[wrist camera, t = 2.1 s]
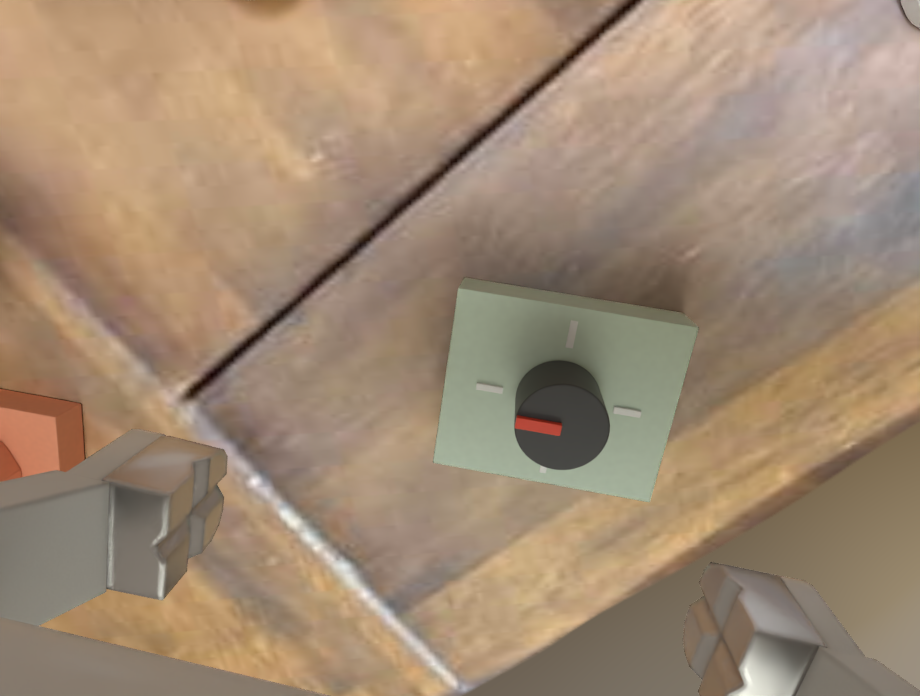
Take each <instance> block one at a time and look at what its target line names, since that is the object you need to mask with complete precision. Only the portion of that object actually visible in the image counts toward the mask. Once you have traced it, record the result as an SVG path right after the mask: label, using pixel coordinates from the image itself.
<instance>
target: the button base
mask: <svg viewBox="0 0 920 696" xmlns="http://www.w3.org/2000/svg"><path fill="white" fill-rule="evenodd" d="M84 460H85V455H84V439H83V424H82V409H81V404H80V403H75V402H70V401H64V400H59V399H53V398H48V397H43V396H37V395H32V394H26V393H21V392H15V391H10V390H4V389H0V482H2V481H7V480H11V479H16V478H21V477H25V476H30V475H35V474H40V473H44V472H49V471H54V470H58V471H63V472H67V471H68V470H70V469H71V468H73V467H74V466H76V465H78V464H79V463H81V462H82V461H84Z"/></svg>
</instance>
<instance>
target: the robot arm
mask: <svg viewBox="0 0 920 696" xmlns="http://www.w3.org/2000/svg"><path fill="white" fill-rule="evenodd" d="M900 1H901V4H902V7H903V9H904V12H905V14H906V16H907V18H908V19H909V21H910V22H911V23H912V24H913V25H915V26H916V27H918V28H920V0H900ZM226 473H227V454H226V453H225V451H224V449H220V448H216V447H212V446H208V445H204V444H200V443H196V442H192V441H188V440H184V439H180V438H176V437H172V436H166V435H164V434H161V433H156V432H151V431H146V430H141V429H131V430H130V431H128V432H127V433H125V434H124V435H122V436H120V437H119V438H117V439H116V440H114V441H113V442H111V443H110V444H108V445H107V446H105V447H104V448H102V449H101V450H99V451H97V452H96V453H94V454H93V455H91V456H90V457H88V458H87V459H85V460H84V461H82V462H81V463H79V464H78V465H76V466H74V467H73V468H71V469H70V470H68V471H67V472H63V471H58V470H54V471H49V472H44V473H40V474H35V475H30V476H25V477H21V478H16V479H11V480H7V481H2V482H0V696H330V695H325V694H321V693H317V692H313V691H309V690H304V689H300V688H296V687H292V686H288V685H284V684H279V683H275V682H271V681H267V680H263V679H258V678H254V677H250V676H246V675H242V674H237V673H233V672H229V671H225V670H221V669H216V668H212V667H208V666H204V665H200V664H195V663H191V662H187V661H183V660H179V659H175V658H170V657H166V656H162V655H158V654H154V653H149V652H145V651H141V650H137V649H133V648H128V647H124V646H120V645H116V644H112V643H107V642H103V641H99V640H95V639H91V638H86V637H82V636H78V635H74V634H70V633H66V632H61V631H57V630H53V629H49V628H45V627H40V626H39V625H41V624H43V623H45V622H47V621H49V620H51V619H53V618H55V617H57V616H59V615H61V614H63V613H65V612H67V611H69V610H71V609H73V608H75V607H77V606H79V605H81V604H83V603H85V602H87V601H89V600H91V599H93V598H95V597H97V596H99V595H101V594H103V593H105V592H106V589H109V590H114V591H119V592H124V593H129V594H134V595H139V596H143V597H148V598H153V599H158V600H163V599H164V598H165V597H166V596H167V594H168V593H169V592H170V591H171V590H172V588H173V587H174V586H175V585H176V584H177V582H178V581H179V580H180V579H181V578H182V576H183V575H184V574H185V573H186V572H187V564H188V558H191V557H193V556H196V555H198V554H201V553H202V552H203V551H204V550H205V549H206V547H207V546H208V545H209V543H210V542H211V541H212V539H213V536H214V534H215V532H216V530H217V528H218V526H219V523H220V519H221V516H222V512H223V504H224V496H223V494H222V493H221V491H220V489H219V487H218V486H217V484H218V482H219V481H220V480H221V479H222V478H223V477H224V476H225V475H226ZM699 584H700V586H701V589H702V592H703V594H704V596H703V597H701V598H700V599H698V600H697V601H695V602H694V603H692V604H691V605H690V607H689V610H688V613H687V616H686V619H685V622H684V632H683V644H684V652H685V656H686V658H687V661H688V664H689V667H690V668H691V669H692V670H693V671H694V672H695V673H696V674H697V675H698V676H699V677H700V678H701V679H702V683H701V685H700V688H699V690H698V692H699V695H700V696H920V690H918V689H917V688H915V687H914V686H912V685H911V684H910V683H908V682H907V681H906V680H904V679H903V678H901V677H900V676H899V675H897V674H896V673H894V672H893V671H892V670H890V669H889V668H887V667H886V666H885V665H883V664H882V663H880V662H879V661H877V660H875V659H872V658H867V657H865V655H864V654H863V653H862V651H861V650H860V649H859V647H858V646H857V644H856V643H855V642H854V641H853V639H852V638H851V636H850V635H849V634H848V632H847V631H846V630H845V628H844V627H843V626H842V624H841V623H840V622H839V620H838V619H837V618H836V616H835V615H834V614H833V612H832V611H831V610H830V608H829V607H828V606H827V604H826V603H825V601H824V600H823V599H822V598H821V596H820V595H819V593H818V592H817V591H816V589H815V588H814V587H813V585H811V584H809V583H808V582H806V581H804V580H800V579H795V578H789V577H784V576H779V575H774V574H769V573H763V572H758V571H754V570H749V569H744V568H739V567H734V566H729V565H724V564H719V563H712V562H710V563H709V565H708V566H707V567H706V568H705V569H704V572H703V574H702V577H701V579H700V581H699Z"/></svg>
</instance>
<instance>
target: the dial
mask: <svg viewBox="0 0 920 696" xmlns="http://www.w3.org/2000/svg"><path fill="white" fill-rule="evenodd" d="M514 431H515V437H516V440H517V442H518V444H519V447H520V448H521V450H522V451H523V452H524V453H525V455H526V456H527V457H529V458H530V459H531V460H532V461H534V462H535V463H537V464H539V465H541V466H543V467H546V468H550V469H555V470H570V469H575V468H578V467H581V466H583V465H585V464H587V463H589V462H591V461H592V460H593V459H595V458H596V457H597V456H598V455H599V454H600V452H601V451H602V450H603V448H604V447H605V445H606V443H607V440H608V437H609V433H610V420H609V416H608V412H607V409H606V406H605V404H604V401H603V398H602V395H601V392H600V389H599V386H598V384H597V382H596V380H595V378H594V377H593V376H592V375H591V374H590V373H589V372H588V371H587V370H586V369H585V368H583V367H582V366H580V365H578V364H575V363H573V362H569V361H562V360H554V361H548V362H544V363H542V364H539V365H537V366H536V367H534V368H532V369H531V370H530V371H529V372H528V373H526V374H525V376H524V377H523V378H522V380H521V381H520V383H519V385H518V388H517V391H516V397H515V419H514Z"/></svg>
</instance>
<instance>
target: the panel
mask: <svg viewBox="0 0 920 696" xmlns="http://www.w3.org/2000/svg"><path fill="white" fill-rule="evenodd" d="M698 329H699V327H698V326H697V325H696V324H695V323H694V322H692V321H691V320H690V319H689V318H688V317H687V316H686V315H685V314H684V313H681V312H675V311H669V310H662V309H656V308H650V307H644V306H638V305H632V304H626V303H619V302H613V301H607V300H601V299H595V298H589V297H583V296H577V295H570V294H564V293H558V292H552V291H546V290H540V289H534V288H528V287H521V286H515V285H509V284H503V283H497V282H491V281H485V280H479V279H472V278H466V277H464V279H463V281H462V282H461V284H460V286H459V288H458V293H457V300H456V306H455V313H454V320H453V327H452V334H451V341H450V348H449V355H448V362H447V369H446V375H445V382H444V389H443V396H442V403H441V410H440V417H439V424H438V431H437V438H436V444H435V451H434V458H433V463H437V464H443V465H448V466H454V467H459V468H465V469H470V470H476V471H481V472H486V473H492V474H497V475H503V476H508V477H514V478H519V479H525V480H530V481H536V482H541V483H547V484H552V485H558V486H563V487H569V488H574V489H579V490H585V491H590V492H596V493H601V494H607V495H612V496H618V497H623V498H629V499H634V500H640V501H645V502H650V499H651V496H652V492H653V489H654V485H655V482H656V478H657V475H658V471H659V467H660V464H661V460H662V457H663V453H664V450H665V446H666V443H667V439H668V436H669V432H670V429H671V425H672V421H673V418H674V414H675V411H676V407H677V404H678V400H679V397H680V393H681V390H682V386H683V383H684V379H685V375H686V372H687V368H688V365H689V361H690V358H691V354H692V351H693V347H694V344H695V340H696V336H697V333H698ZM554 360H562V361H569V362H573V363H575V364H578V365H580V366H582V367H583V368H585V369H586V370H587V371H588V372H589V373H590V374H591V375H592V376H593V377H594V378H595V380H596V382H597V384H598V386H599V389H600V392H601V395H602V398H603V401H604V404H605V406H606V409H607V412H608V416H609V420H610V433H609V437H608V440H607V443H606V445H605V447H604V448H603V450H602V451H601V452H600V454H599V455H598V456H597V457H596V458H595V459H593V460H592V461H591V462H589V463H587V464H585V465H583V466H581V467H578V468H575V469H570V470H555V469H550V468H546V467H543V466H541V465H539V464H537V463H535V462H534V461H532V460H531V459H530V458H529V457H527V456H526V455H525V453H524V452H523V451H522V450H521V448H520V447H519V444H518V442H517V440H516V437H515V431H514V419H515V397H516V391H517V388H518V385H519V383H520V381H521V380H522V378H523V377H524V376H525V374H526V373H528V372H529V371H530V370H531V369H532V368H534V367H536V366H537V365H539V364H542V363H544V362H548V361H554Z"/></svg>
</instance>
